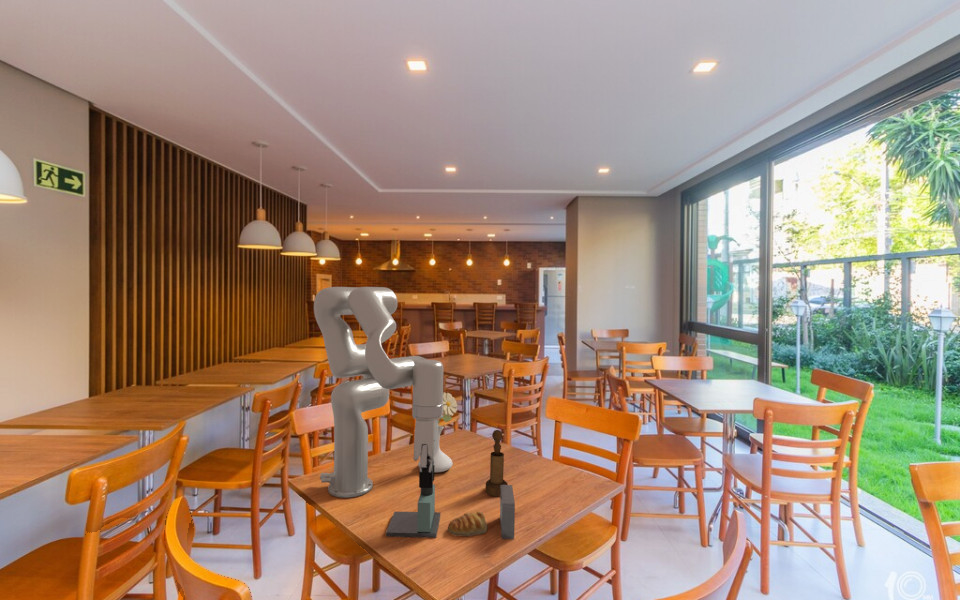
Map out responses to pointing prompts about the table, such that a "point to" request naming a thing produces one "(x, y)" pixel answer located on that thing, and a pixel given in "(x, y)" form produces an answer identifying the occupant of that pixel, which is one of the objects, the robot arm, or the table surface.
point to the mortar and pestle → (496, 467)
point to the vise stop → (507, 512)
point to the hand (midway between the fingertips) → (426, 483)
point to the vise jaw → (426, 508)
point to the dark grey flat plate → (410, 525)
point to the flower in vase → (449, 407)
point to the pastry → (468, 525)
